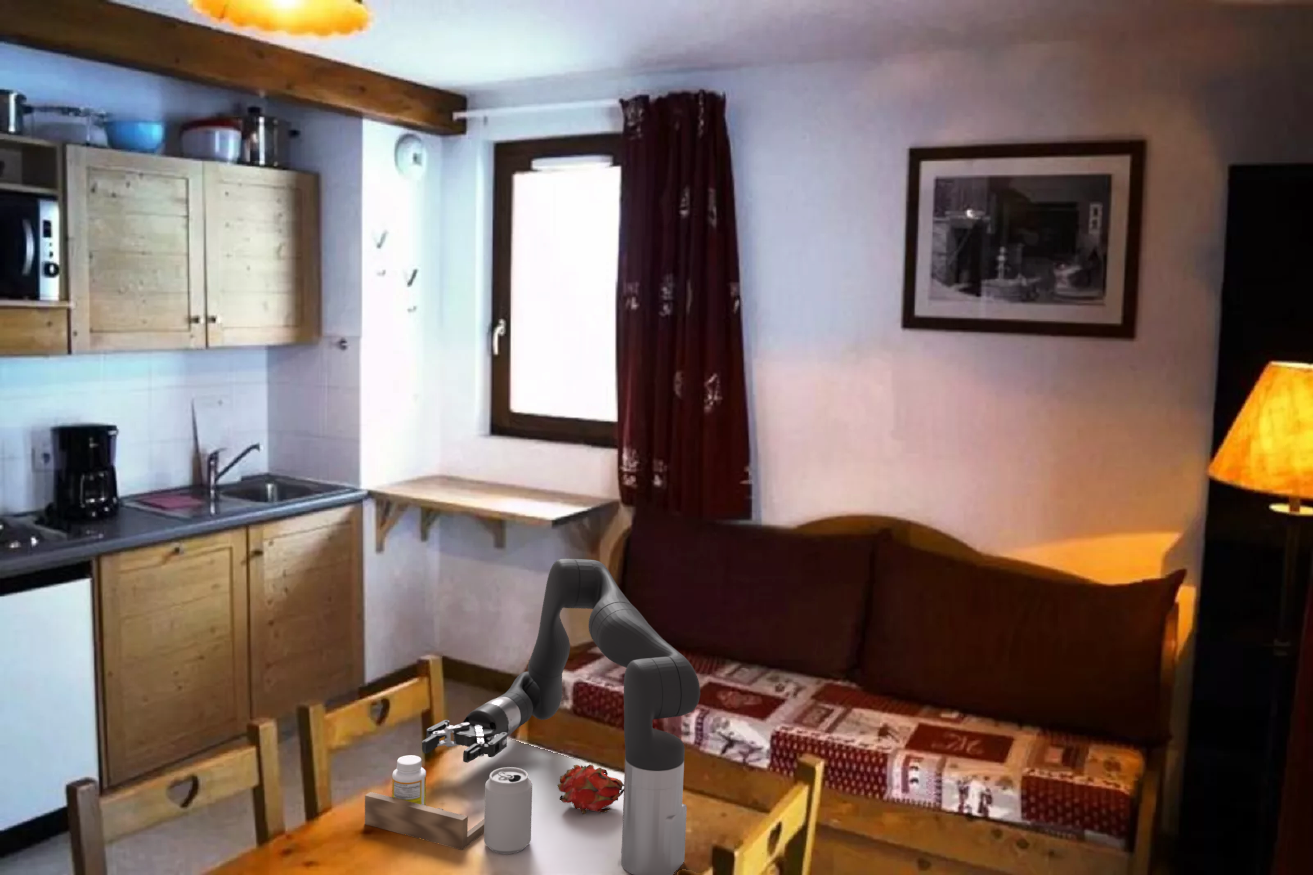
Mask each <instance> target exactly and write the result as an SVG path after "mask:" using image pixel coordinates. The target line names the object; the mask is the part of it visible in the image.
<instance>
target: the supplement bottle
mask: <svg viewBox="0 0 1313 875" xmlns="http://www.w3.org/2000/svg"><path fill="white" fill-rule="evenodd" d="M422 765H423V764H422V758H421V757H420V756H418V755H414V754H413V755H411V754H409V755H403V756H400V757H398V759H397V761H396V769H394V770H393V772H392V777H391V784H392V785H391V789H392V790H391V797H393V798H397V799H401V800H405V801H409V802H413V803H417V804H421V805H425V806H427V804H426V803H427V802H426V800H427V794H426V793H427V789H426V788H427V770H426V769H425V768H424V767H422Z"/></svg>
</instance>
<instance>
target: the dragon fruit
mask: <svg viewBox="0 0 1313 875" xmlns="http://www.w3.org/2000/svg"><path fill="white" fill-rule="evenodd" d="M608 774H609V773H608V771H607V769H604V768H602V767H598V768H595V767H594V765H593V764H589V765H587V766H586V765H584V766H583V765H582V764H580V765H579V764H574V765H573V768H571V769H570V768H569V769H567V770H566V771H565V773H564V774H562V775H560V777H559V783H558V784H557V789H558V790H559V792H561V793H564V795H563V794H561V795H560V796H559V801H560V802H562V803H564V804H570V803H571V804H573V807H574V809H575V810H579V811H580V812H581V814H582V815H586V814H587V812H588V811H592V812H597V813H600V814H605V813H607V812H609V811H610V810H612V808H611V807H607V806H611V805H612V804H614V802H616V801H617V802H618V801H619V797H620V796H622V795H623V794H624V788H623V787H624V782H623V781H622V780H620V779H619V778H617V777H611V776H609V775H608Z"/></svg>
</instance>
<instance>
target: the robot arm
mask: <svg viewBox="0 0 1313 875" xmlns="http://www.w3.org/2000/svg"><path fill="white" fill-rule="evenodd" d="M545 585H546V586H545V591H544V595H543V596H544V597H543V600H542V601H543V602H542V608H541V616H540V620H539V621H540V622H539V627H538V632H537V638H536V640H535V644H534V646H533V650H532V653H531V655H530V659H529V660H528V661H529V662H528V664H527V671H523V672H521V673H520V674H519V675H517V677H516V678H515V679H514V680H513V683H512V684H511V686H510V688H509V689H508V690H506V692H505V693H503V694H501V695H500V696H498V697H497V698H493V699H491V700H489V701H487V702H486V703H483V704H482V705H480V706H479V707H476V708H475V709H474V710H471V712H469V713H468V714H467V715H466V716H465V719H463V721H462V722H460V723H458V724H457V723H456V724H455V725H453V724H450V720H448V719H444V720H441V721H440V722H438V723H436V724H434V725H432V726H430V727H428V728H426V738H425V739H423V740H422V741H421V750H422V753H424V754H428V753H430V752H431V751H433V750H434V749H436V748H438V747H442V746H446V747H447V748H451V747H459V746H462V747H466V748H465V749H464V750H463V752H462V763H467V764H468V763H469V762H471V761H474V760H476V759H477V758H478V757H479V758H481V757H484V756H485V755H487V757H488V758H494V757H496V756H497V755H498V754H499V753H500V752H502V751H504V749H506V748H507V747H508V737H509V736H510V735H512V733H514V731H515V730H517V729H519V727H521V726H522V725H524V724H526V723H527V722H528V721H530V719H531V718H532V716H533V717H534V718H535V719H537V720H543V721H544V720H548V719H551V718H552V717H554V716H555V714H556V713H557V711H558V710H559V708H560V706H561V702H562V697H563V672H564V671H565V666H566V664H567V662H568V659H569V655H570V650H571V643H570V639H569V635H568V633H567V630H566V628H565V627H564V624H563V623H562V619H561V612H562V609H585V610H586V609H588V610H589V609H590V610H592V611H591V613H590V615H589V618H588V632H589V635H590V637H591V639H592V641H593V643H594V644H595V645H596V646H597V648H598V649H599V650H600V652H601V653H602V655H603V656H604V657H606V658H607V659H608V660H609V661H611V662H612V663H614V664H616V665H618V666H621V667H624V668H625V671H624V677H623V678H624V680H623V708H624V709H623V710H624V712H623V716H624V718H623V720H624V721H623V723H624V724H623V729H624V730H623V732H624V733H623V736H624V748H625V749H624V776H623V780H624V781H623V784H624V786H623V789H624V792H623V804H622V805H623V807H622V831H621V851H620V853H621V859H620V860H621V861H620V863H621V866H622V868H623V869H624V870H625V871H626V872H628V873H629V874H631V875H673V874H675V873H676V872H677V871H678V870H679V869H680V867H681V866H682V865H683V864H684V863H685V853H686V852H685V850H686V834H687V832H686V831H687V811H688V810H687V805H686V804H684V803H683V798H684V797H683V795H684V794H683V792H684V791H683V790H684V773H685V772H684V771H685V745H684V742H683V741H682V739H681V738H680V737H678V736H677V735H675V734H672V733H671V732H667V731H664V730H660V729H658V728H653V720H660V719H667V718H669V719H670V718H675V717H682V716H685V715H688V714H690V713H692V712H693V711H695V709H696V708H697V707H698V704H699V702H700V698H701V686H700V681H699V678H698V675H697V672H696V670H695V669H694V666H693V665H692V664H691V662H690V661H689V659H687V657H685V656H684V655H683V654H682V653H680V652H679V650H677V649H676V648H674V647H673V646H672V645H671V644H670V643H668V642H667V641H666V640H665V639H663V637H662V636H661V635H660V634H659V633H658V632H657V631H656V630H655V629H654V628H653V627H652V626H651V625H650V624H649V623H648V621H647V620H646V618H645V617H644V616H643V615H642V613H641V612H640V611H639V610H638V609H637V608H636V607H635V606H634V605H633V604H632V603H631V602H630V601H629V599H628V598H627V596H625V594H624V593H623V592H622V589H620V587H619V586H618V584H617V583H616V580H615V579H614V578H613V575H612V573H611V572H610V571H609V569H608V568H607V566H606V565H605V564H604V563H602V562H601V561H599V560H595V559H581V558H561V559H557V560H556V561H555V562H554V563H553V564H552V566H551V568H550V570H549V573H548V577H547V580H546V584H545ZM452 733H453V740H451V737H452V736H451V735H452ZM442 738H443V739H442ZM440 739H442V740H440ZM683 862H684V863H683ZM676 870H677V871H676ZM675 871H676V872H675ZM674 872H675V873H674Z"/></svg>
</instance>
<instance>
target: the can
mask: <svg viewBox="0 0 1313 875" xmlns="http://www.w3.org/2000/svg"><path fill="white" fill-rule="evenodd" d="M529 777H530V776H529V773H528V771H526V770H525V769H524V768H523V769H522V768H520V767H515V766H514V767H513V766H511V767H510V766H507V767H500V768H496V769H494V770H493V771H491V772H490V773H489V778H488V779H487V780H486V782H485V784H484V814H483V815H484V833H483V842H484V845H486V846H487V847H488V848H489V849H490V850H491V851H492V852H494V853H496V854H501V855H510V854H512V855H513V854H516V853H519V852H522V851H523V850H524V849H525V848H526V847H527V846H528V845H529V844H530V843H531V839H532V816H533V814H532V811H533V810H532V809H533V808H532V807H533V806H532V804H533V782H532V780H531V779H530V778H529Z"/></svg>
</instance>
